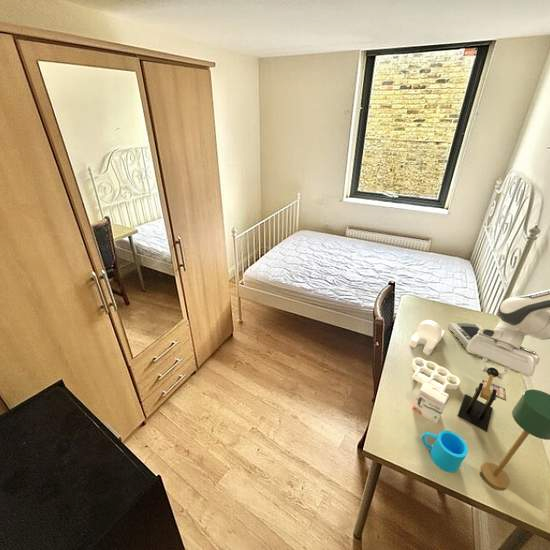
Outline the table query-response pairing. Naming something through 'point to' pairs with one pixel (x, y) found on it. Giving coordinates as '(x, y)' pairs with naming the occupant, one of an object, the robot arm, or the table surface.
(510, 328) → the robot arm
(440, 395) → the ink box
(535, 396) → the desk lamp
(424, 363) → the white brass knuckles
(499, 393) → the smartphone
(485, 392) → the switch lever
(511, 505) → the table surface
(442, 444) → the mug
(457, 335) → the alarm clock
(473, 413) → the switch bracket
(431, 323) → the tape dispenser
